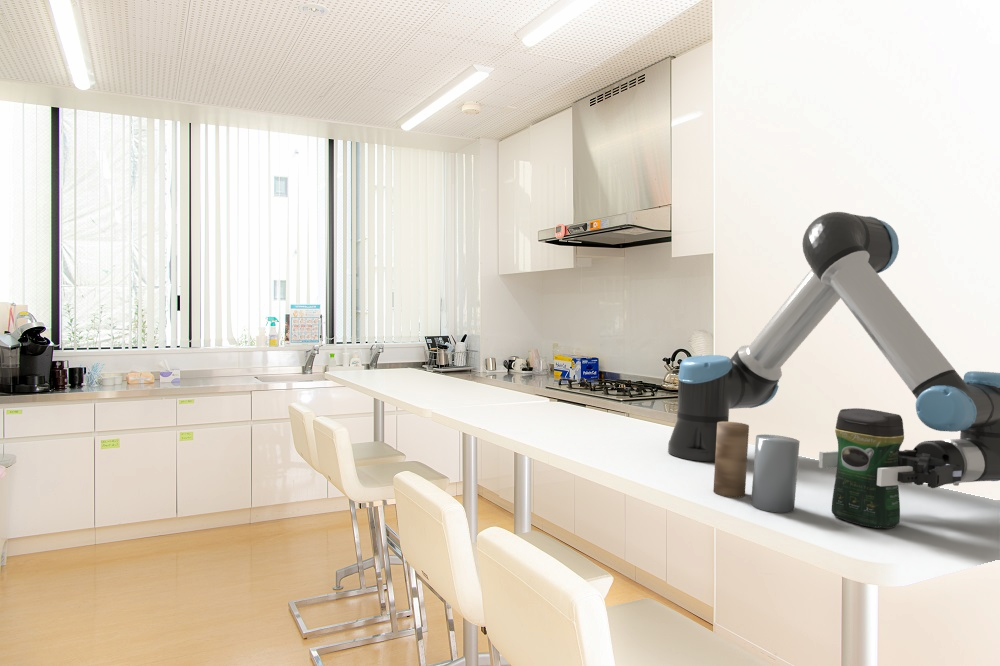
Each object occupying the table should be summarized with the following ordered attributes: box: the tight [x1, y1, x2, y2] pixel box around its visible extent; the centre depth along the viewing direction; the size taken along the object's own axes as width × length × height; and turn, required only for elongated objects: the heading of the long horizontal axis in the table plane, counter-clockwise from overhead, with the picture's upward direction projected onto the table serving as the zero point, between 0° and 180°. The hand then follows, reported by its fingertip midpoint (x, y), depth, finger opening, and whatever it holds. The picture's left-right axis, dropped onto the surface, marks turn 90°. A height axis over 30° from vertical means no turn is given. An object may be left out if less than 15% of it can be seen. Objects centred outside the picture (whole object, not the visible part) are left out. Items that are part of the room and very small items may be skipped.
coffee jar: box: [831, 407, 905, 530], centre depth 108 cm, size 10×8×19 cm
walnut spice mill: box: [712, 421, 750, 498], centre depth 122 cm, size 6×6×13 cm
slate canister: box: [750, 434, 800, 514], centre depth 114 cm, size 7×7×12 cm
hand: (848, 468), depth 106 cm, fingers open, 11 cm apart
